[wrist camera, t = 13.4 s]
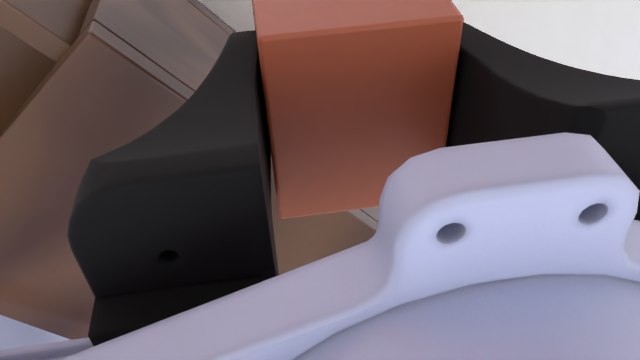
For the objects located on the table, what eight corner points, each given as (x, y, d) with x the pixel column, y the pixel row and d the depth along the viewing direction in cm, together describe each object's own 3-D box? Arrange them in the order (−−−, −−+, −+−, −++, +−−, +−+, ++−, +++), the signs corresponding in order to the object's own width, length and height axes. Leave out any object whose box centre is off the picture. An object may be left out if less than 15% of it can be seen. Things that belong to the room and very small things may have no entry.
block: (265, 113, 16) (279, 221, 13) (245, -50, 13) (256, 38, 10) (394, 98, 17) (440, 200, 13) (404, -64, 13) (466, 16, 10)
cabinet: (-43, 144, 25) (-116, 275, 20) (122, -63, 21) (88, 31, 15) (210, 271, 34) (210, 390, 28) (370, 143, 29) (409, 254, 23)
